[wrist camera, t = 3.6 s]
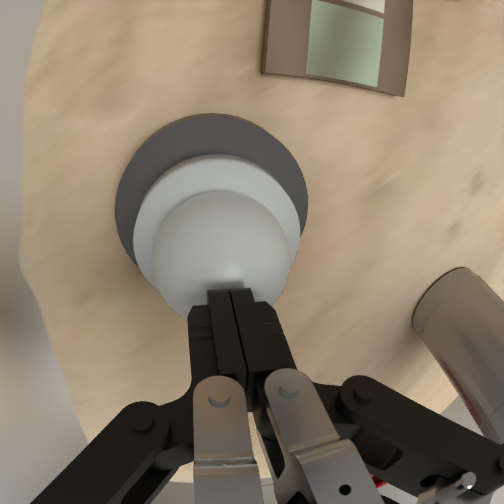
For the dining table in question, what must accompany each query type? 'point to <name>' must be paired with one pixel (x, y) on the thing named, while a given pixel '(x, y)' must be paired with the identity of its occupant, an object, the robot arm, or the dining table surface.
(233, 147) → the dome base
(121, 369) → the dining table surface
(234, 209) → the pop dome
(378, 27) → the game board
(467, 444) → the robot arm
